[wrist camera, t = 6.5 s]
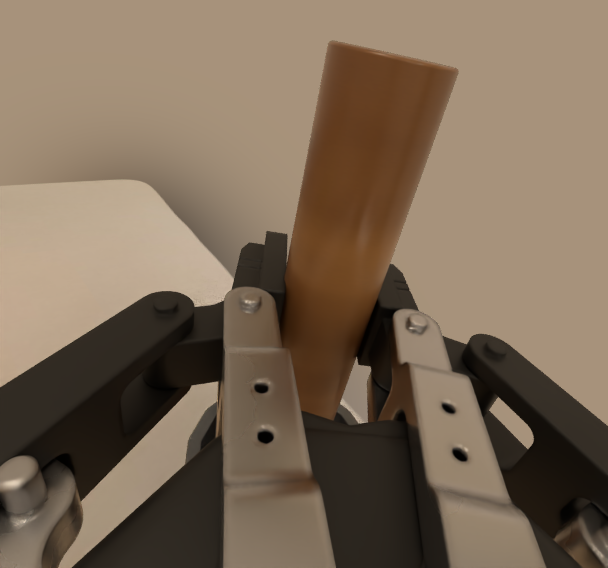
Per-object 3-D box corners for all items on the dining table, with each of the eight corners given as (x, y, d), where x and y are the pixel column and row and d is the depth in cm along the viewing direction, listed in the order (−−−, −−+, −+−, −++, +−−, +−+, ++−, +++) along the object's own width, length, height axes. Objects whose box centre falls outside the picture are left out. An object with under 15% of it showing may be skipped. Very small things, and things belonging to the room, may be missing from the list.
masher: (323, 574, 19) (572, 93, 7) (232, 633, 17) (378, 52, 5) (279, 487, 22) (400, 54, 10) (198, 525, 20) (232, 17, 8)
